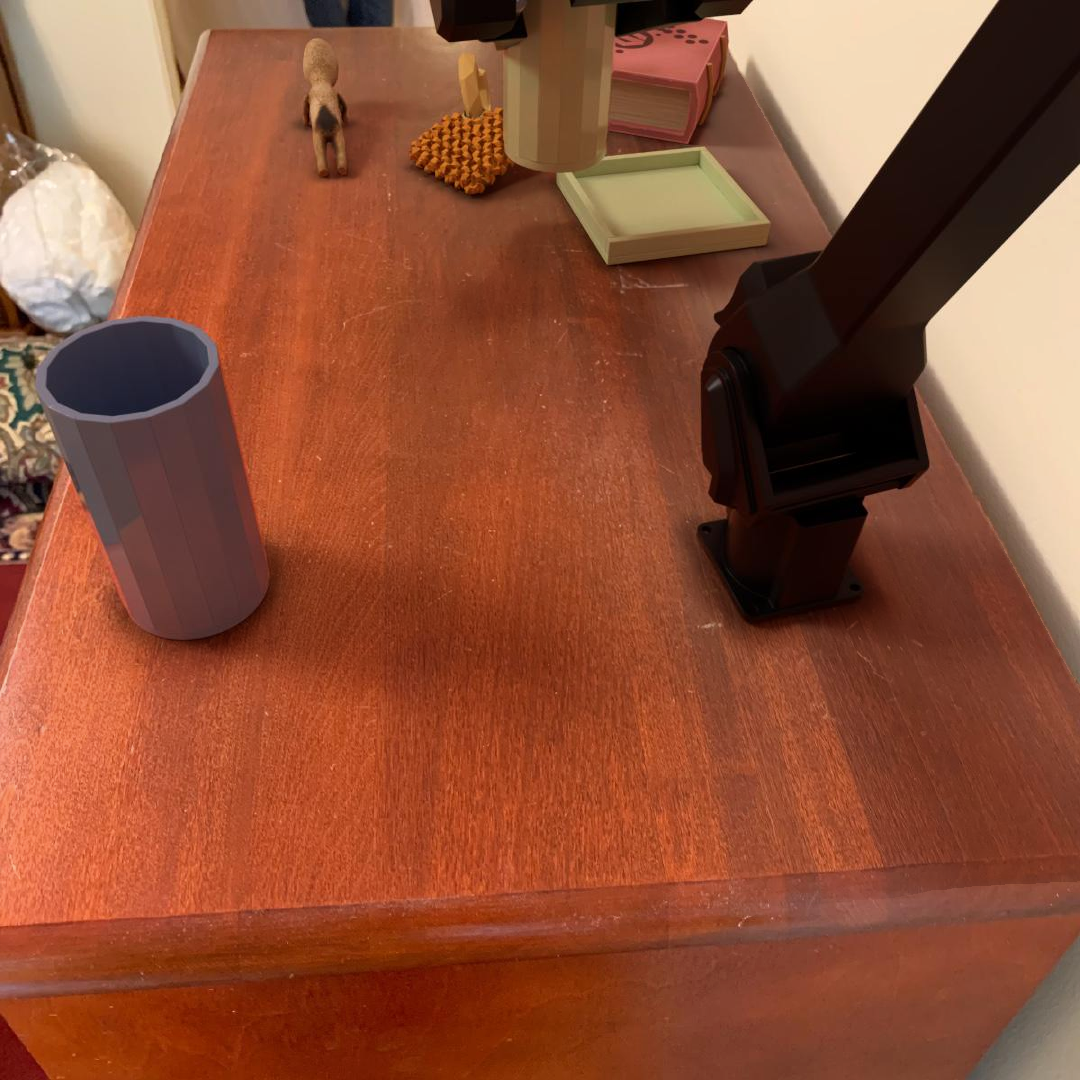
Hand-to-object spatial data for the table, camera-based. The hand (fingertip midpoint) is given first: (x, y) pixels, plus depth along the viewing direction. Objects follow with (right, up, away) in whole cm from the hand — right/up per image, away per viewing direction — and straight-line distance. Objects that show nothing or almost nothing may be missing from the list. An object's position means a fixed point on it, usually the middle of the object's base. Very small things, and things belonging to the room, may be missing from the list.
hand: (552, 36), depth 63 cm
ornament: (-6, -1, +18) cm, 19 cm away
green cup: (0, -5, +4) cm, 7 cm away
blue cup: (-17, -34, -14) cm, 40 cm away
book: (+7, +8, +27) cm, 29 cm away
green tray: (+8, -7, +12) cm, 16 cm away
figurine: (-18, +2, +20) cm, 27 cm away
